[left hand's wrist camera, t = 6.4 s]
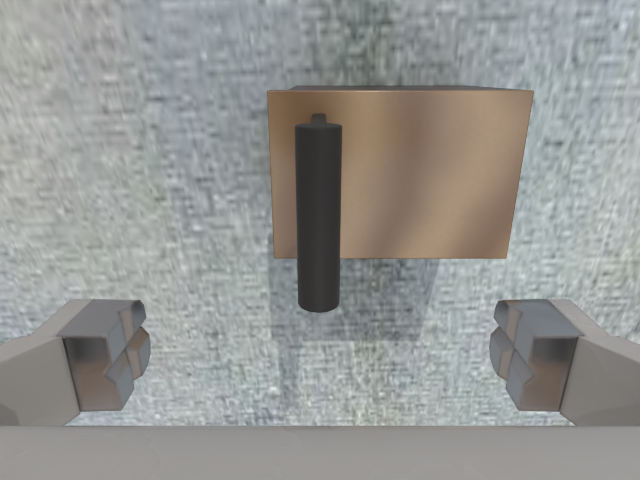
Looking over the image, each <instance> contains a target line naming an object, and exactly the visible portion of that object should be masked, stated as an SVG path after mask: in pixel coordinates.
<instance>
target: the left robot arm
mask: <svg viewBox="0 0 640 480" xmlns="http://www.w3.org/2000/svg"><path fill="white" fill-rule="evenodd" d="M145 319H146V313H145V308H144V304H143V303H142V302H141V301H140V300H111V299H74V300H69V301H68V302H67V303H66V304H65V305H64V306H62V307H61V308H60V309H59V310H58V311H57V312H56V313H55V314H53V315H52V316H51V317H50V318H49V319H48V320H47V321H46V322H44V323H43V324H42V325H41V326H40V327H39V328H38V329H36V330H35V331H34V332H33V333H32V334H31V335H30V336H21V337H19V338H16V339H13V340H11V341H8V342H6V343H3V344H1V345H0V480H640V345H639V344H637V343H634V342H632V341H629V340H627V339H624V338H621V337H619V336H610V335H609V334H608V333H607V332H606V331H605V330H604V329H602V328H601V327H600V326H599V325H598V324H597V323H596V322H595V321H593V320H592V319H591V318H590V317H589V316H588V315H587V314H586V313H584V312H583V311H582V310H581V309H580V308H579V307H578V306H577V305H575V304H574V303H573V302H572V301H571V300H568V299H529V300H502V301H498V303H497V305H496V308H495V313H494V319H495V320H496V322H497V324H498V325H499V327H498V328H497V329H496V330H495V331H494V332H493V333H492V334H491V338H490V346H489V349H490V359H491V362H492V365H493V368H494V370H495V372H496V373H497V375H498V376H500V377H501V378H503V379H504V380H506V381H507V384H506V390H507V392H508V394H509V395H510V397H511V399H512V400H513V402H514V404H515V405H516V407H517V409H518V410H519V411H553V412H560V414H561V415H562V416H564V417H565V418H566V419H568V420H569V421H571V422H572V423H573V424H575V425H576V426H64V425H66V424H67V423H68V422H70V421H71V420H72V419H74V418H75V417H76V416H78V415H79V414H80V412H87V411H121V410H122V409H123V407H124V405H125V404H126V402H127V400H128V399H129V397H130V395H131V394H132V392H133V390H134V383H133V381H134V380H136V379H137V378H139V377H140V376H142V375H143V373H144V372H145V370H146V368H147V366H148V362H149V358H150V337H149V334H148V333H147V332H146V331H145V330H144V329H143V328H142V327H141V325H142V324H143V322H144V320H145Z"/></svg>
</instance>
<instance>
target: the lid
mask: <svg viewBox="0 0 640 480" xmlns="http://www.w3.org/2000/svg"><path fill="white" fill-rule="evenodd" d="M533 94H534V91H532V90H269V91H268V92H267V96H268V121H269V145H270V169H271V193H272V218H273V242H274V258H297V269H298V304H299V306H300V307H301V308H302V309H304V310H307V311H310V312H318V313H319V312H327V311H331V310H333V309H335V308H336V307H337V306H338V304H339V287H340V258H507V252H508V245H509V239H510V233H511V227H512V221H513V215H514V209H515V203H516V197H517V191H518V185H519V179H520V173H521V167H522V161H523V155H524V149H525V143H526V136H527V130H528V124H529V118H530V112H531V106H532V100H533Z"/></svg>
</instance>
